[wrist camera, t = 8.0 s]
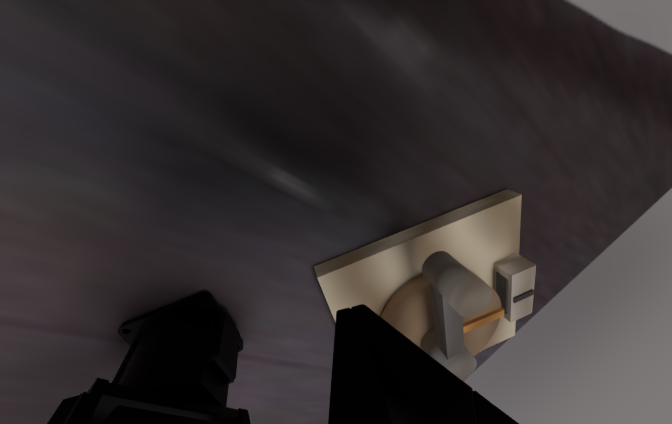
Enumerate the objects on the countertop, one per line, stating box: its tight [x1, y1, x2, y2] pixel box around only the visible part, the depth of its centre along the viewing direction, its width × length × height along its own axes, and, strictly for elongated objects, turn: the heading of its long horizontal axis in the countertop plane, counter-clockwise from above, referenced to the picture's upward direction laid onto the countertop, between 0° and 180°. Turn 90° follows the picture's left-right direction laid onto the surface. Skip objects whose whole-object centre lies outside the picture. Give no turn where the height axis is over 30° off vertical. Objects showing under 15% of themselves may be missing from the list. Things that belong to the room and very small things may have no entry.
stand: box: [314, 189, 536, 351], centre depth 25 cm, size 18×18×4 cm
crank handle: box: [381, 251, 504, 381], centre depth 21 cm, size 11×16×7 cm
